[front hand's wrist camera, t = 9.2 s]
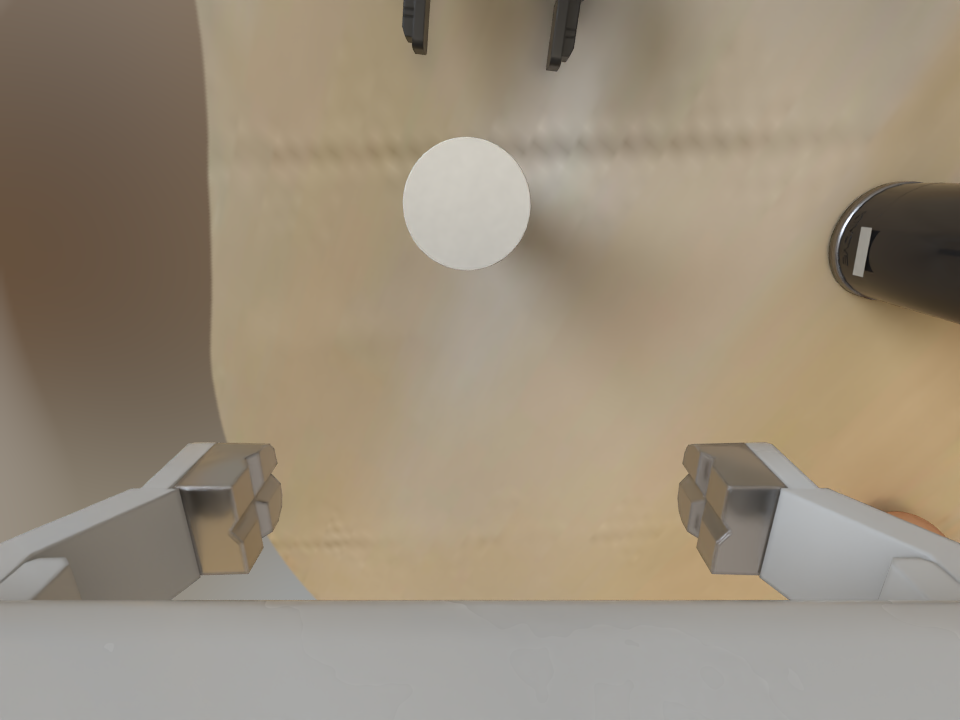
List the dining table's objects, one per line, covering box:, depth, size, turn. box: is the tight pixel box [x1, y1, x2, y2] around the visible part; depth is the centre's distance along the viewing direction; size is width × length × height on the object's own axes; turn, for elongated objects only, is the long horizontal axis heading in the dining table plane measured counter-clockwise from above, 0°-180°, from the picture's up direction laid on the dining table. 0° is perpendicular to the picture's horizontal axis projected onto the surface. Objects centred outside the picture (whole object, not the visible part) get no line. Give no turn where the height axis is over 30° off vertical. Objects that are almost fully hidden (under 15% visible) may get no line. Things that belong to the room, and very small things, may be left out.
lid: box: [403, 137, 531, 270], centre depth 23 cm, size 6×6×2 cm
